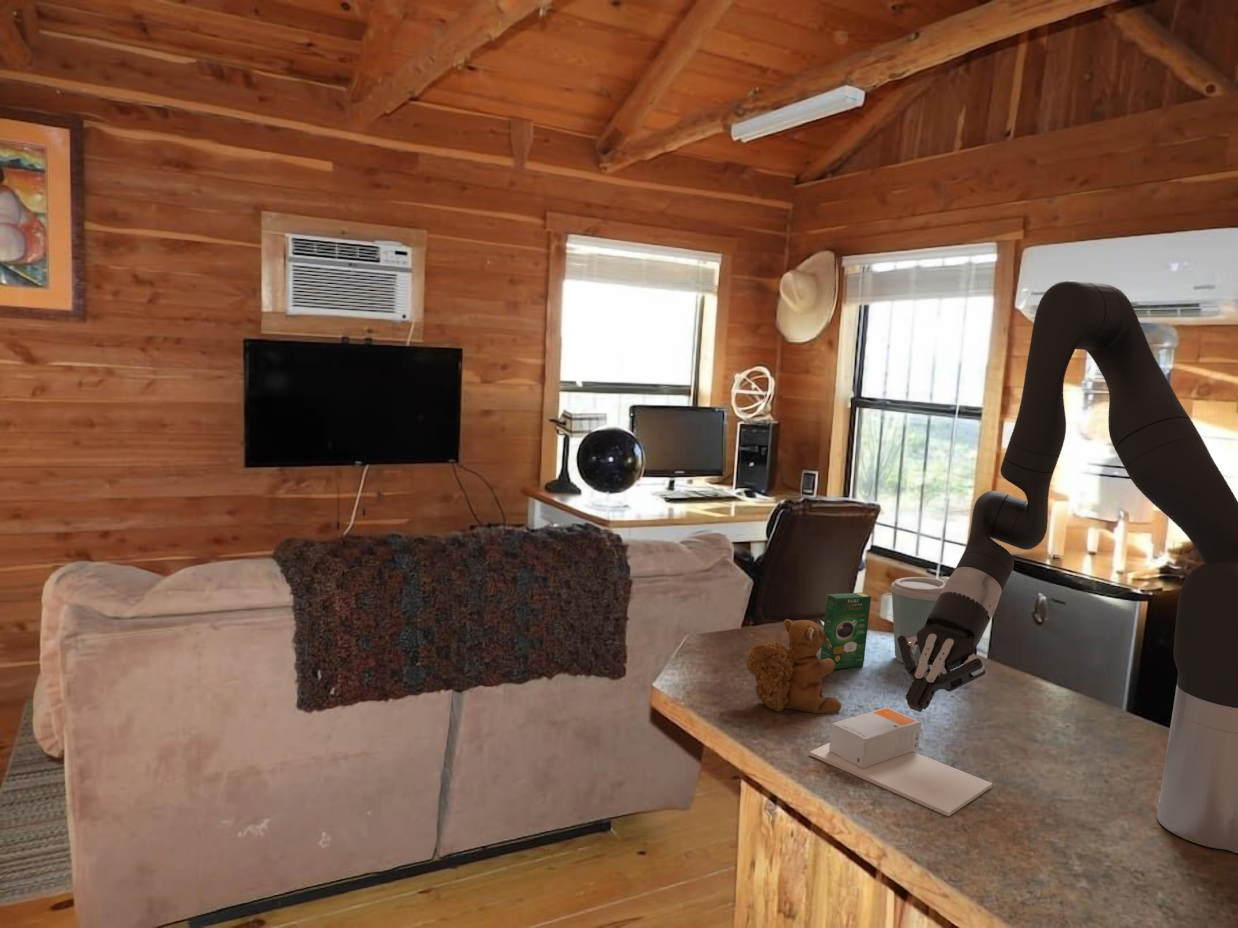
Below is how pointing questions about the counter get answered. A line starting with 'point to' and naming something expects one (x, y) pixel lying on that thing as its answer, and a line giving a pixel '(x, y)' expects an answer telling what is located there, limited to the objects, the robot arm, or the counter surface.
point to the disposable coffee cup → (913, 607)
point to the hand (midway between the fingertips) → (913, 707)
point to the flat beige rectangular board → (915, 779)
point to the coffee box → (846, 629)
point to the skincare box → (874, 737)
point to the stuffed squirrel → (793, 670)
